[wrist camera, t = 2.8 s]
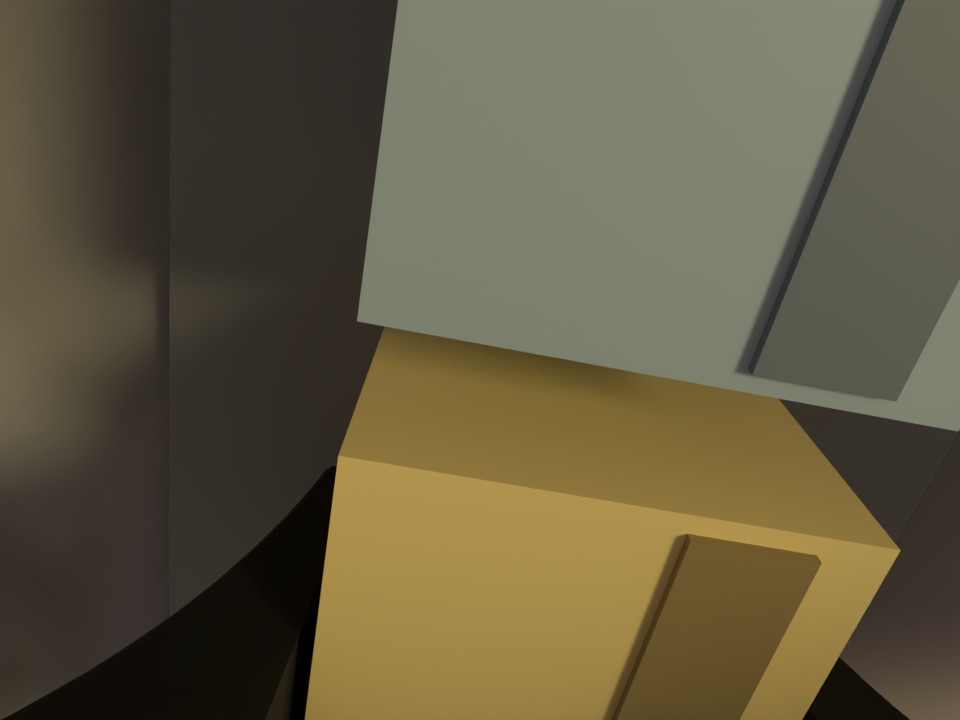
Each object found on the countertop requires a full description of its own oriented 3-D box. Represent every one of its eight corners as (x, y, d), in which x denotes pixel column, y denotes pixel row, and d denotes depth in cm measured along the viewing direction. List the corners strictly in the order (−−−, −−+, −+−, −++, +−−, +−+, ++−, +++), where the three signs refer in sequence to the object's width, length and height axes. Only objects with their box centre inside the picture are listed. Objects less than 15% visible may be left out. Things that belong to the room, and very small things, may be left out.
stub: (724, 332, 11) (905, 557, 6) (617, 615, 13) (687, 930, 8) (404, 270, 10) (336, 462, 6) (357, 575, 13) (283, 879, 8)
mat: (1793, -1095, 6) (1880, -1171, 5) (722, 819, 17) (727, 837, 16) (199, -1719, 5) (176, -1864, 4) (175, 745, 16) (168, 762, 15)
